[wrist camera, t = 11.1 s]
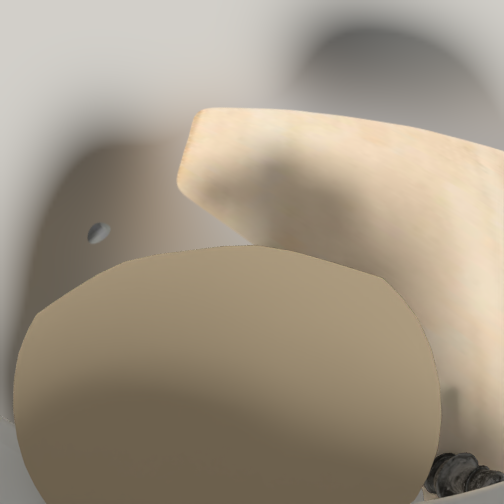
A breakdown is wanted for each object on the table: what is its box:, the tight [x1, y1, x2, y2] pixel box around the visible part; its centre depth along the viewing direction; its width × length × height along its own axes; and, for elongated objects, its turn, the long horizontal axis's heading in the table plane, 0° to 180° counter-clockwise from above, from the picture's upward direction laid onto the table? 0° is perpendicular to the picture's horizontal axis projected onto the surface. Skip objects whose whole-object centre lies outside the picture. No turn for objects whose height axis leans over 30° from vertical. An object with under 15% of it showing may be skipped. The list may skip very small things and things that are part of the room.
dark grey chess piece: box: [424, 453, 504, 498], centre depth 19 cm, size 6×6×12 cm
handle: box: [13, 245, 442, 504], centre depth 10 cm, size 5×6×15 cm
